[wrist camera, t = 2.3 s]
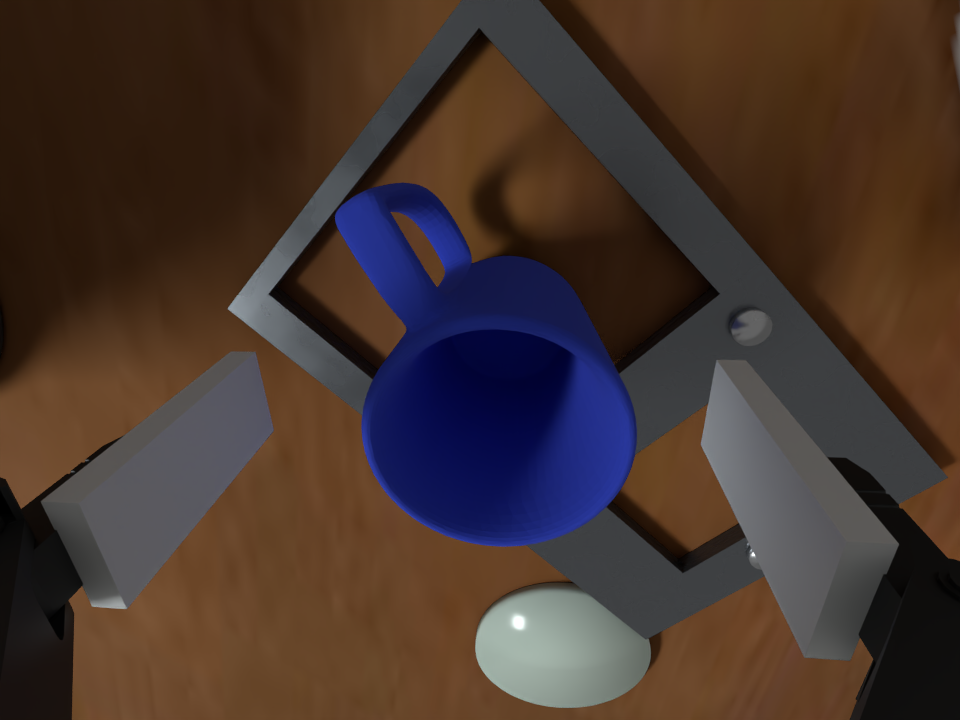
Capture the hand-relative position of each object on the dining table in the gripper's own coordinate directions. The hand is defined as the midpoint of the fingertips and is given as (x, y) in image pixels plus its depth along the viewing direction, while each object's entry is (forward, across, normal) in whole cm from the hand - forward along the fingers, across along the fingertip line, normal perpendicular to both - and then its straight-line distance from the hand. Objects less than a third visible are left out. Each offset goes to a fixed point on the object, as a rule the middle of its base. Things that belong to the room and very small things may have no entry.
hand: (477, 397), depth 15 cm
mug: (+10, 0, 0) cm, 10 cm away
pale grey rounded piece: (+10, +4, -24) cm, 26 cm away
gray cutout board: (+10, +4, -5) cm, 12 cm away
